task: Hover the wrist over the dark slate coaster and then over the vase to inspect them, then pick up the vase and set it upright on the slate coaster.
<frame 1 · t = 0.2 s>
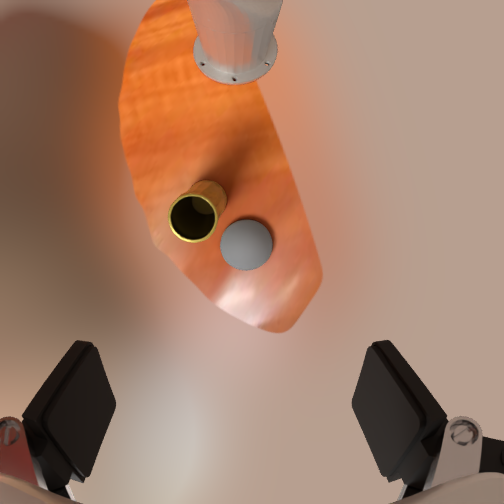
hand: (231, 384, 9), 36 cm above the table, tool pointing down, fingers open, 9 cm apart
vase: (206, 199, 42), on the table
coaster: (246, 244, 44), on the table
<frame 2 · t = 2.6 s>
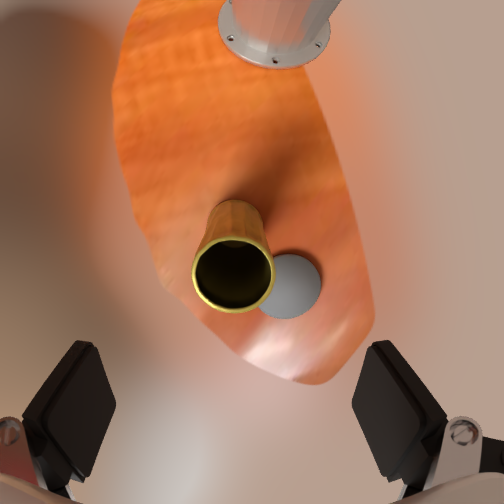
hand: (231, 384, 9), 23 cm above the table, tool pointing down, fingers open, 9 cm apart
vase: (234, 226, 31), on the table
coaster: (286, 286, 33), on the table
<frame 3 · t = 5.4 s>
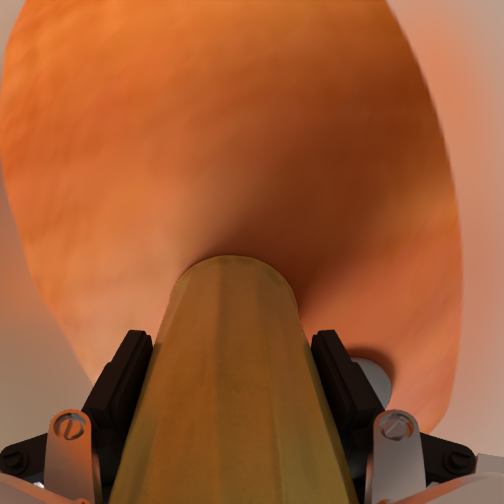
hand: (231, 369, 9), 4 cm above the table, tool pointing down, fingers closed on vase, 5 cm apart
vase: (232, 312, 13), on the table, touching gripper
coaster: (330, 404, 16), on the table
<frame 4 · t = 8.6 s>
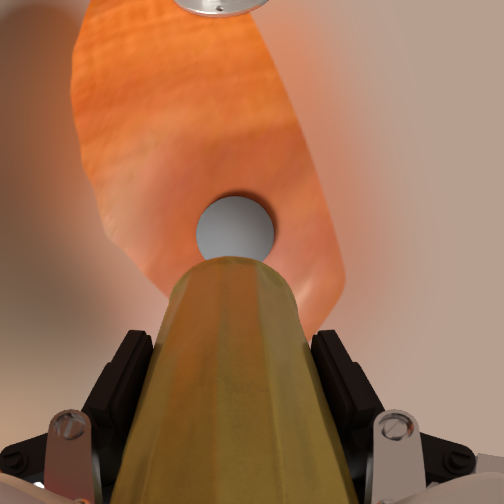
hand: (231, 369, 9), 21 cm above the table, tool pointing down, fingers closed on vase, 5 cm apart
vase: (232, 313, 13), point 17 cm above the table, touching gripper
coaster: (235, 234, 30), on the table
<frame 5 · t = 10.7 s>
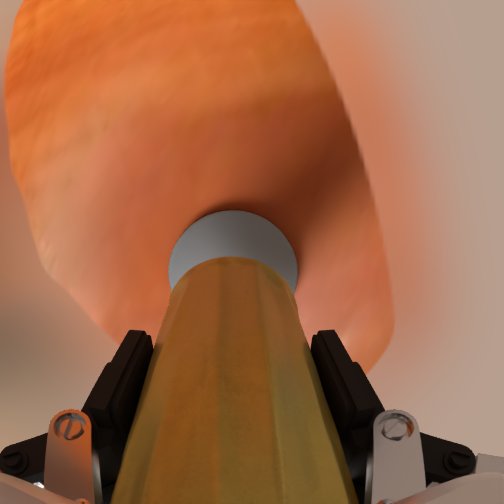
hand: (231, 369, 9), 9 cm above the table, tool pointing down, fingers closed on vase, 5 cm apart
vase: (232, 313, 13), point 5 cm above the table, touching gripper
coaster: (232, 272, 18), on the table
when the fingers open (6 cm above the table, at t = 12.2 s): vase drops 1 cm, resting on coaster.
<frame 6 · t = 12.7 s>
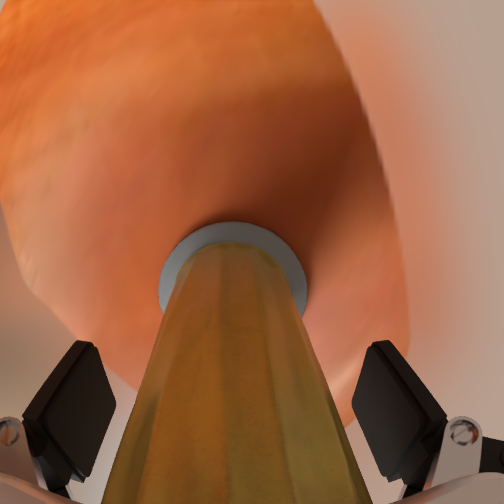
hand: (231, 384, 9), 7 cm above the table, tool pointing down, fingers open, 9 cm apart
vase: (231, 295, 15), point 1 cm above the table, touching coaster
coaster: (232, 292, 16), on the table
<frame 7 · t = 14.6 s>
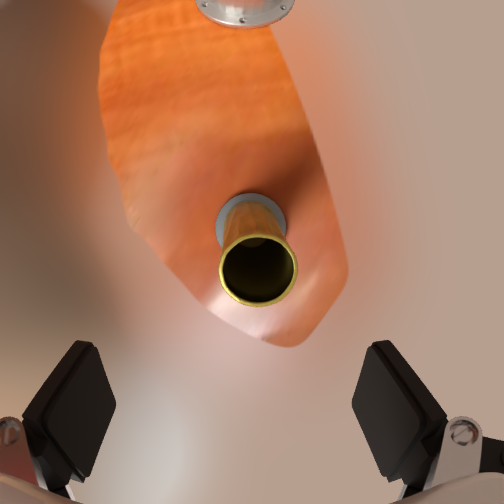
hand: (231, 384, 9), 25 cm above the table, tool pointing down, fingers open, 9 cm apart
vase: (250, 227, 32), point 1 cm above the table, touching coaster
coaster: (250, 227, 33), on the table
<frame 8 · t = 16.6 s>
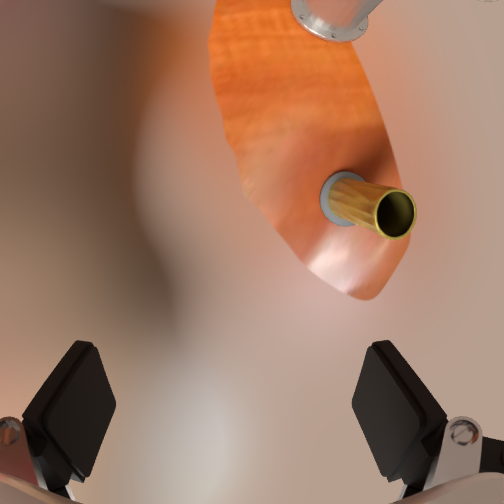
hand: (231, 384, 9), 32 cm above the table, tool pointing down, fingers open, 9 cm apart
vase: (346, 198, 39), point 1 cm above the table, touching coaster
coaster: (345, 198, 40), on the table
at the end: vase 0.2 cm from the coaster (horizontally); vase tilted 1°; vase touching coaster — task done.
